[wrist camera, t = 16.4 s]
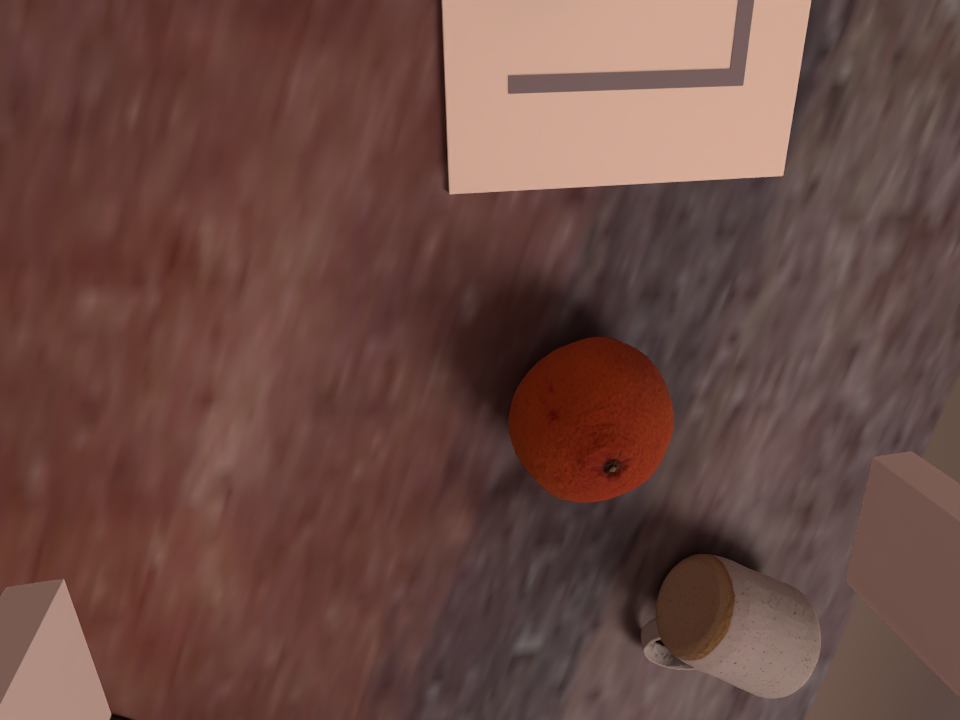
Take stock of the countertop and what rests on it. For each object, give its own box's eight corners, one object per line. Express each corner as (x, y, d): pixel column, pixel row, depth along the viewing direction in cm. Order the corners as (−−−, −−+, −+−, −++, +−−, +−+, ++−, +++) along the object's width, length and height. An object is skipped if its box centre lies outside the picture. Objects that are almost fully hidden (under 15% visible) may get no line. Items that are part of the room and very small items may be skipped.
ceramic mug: (694, 525, 47) (751, 610, 41) (780, 561, 50) (847, 646, 43) (607, 634, 51) (646, 729, 44) (692, 662, 53) (742, 756, 47)
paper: (448, 193, 35) (449, 194, 35) (433, -204, 29) (434, -207, 28) (779, 174, 38) (783, 176, 38) (838, -193, 31) (843, -195, 31)
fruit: (556, 480, 44) (596, 567, 37) (470, 386, 40) (496, 463, 33) (672, 395, 43) (737, 467, 36) (594, 290, 39) (650, 347, 32)
